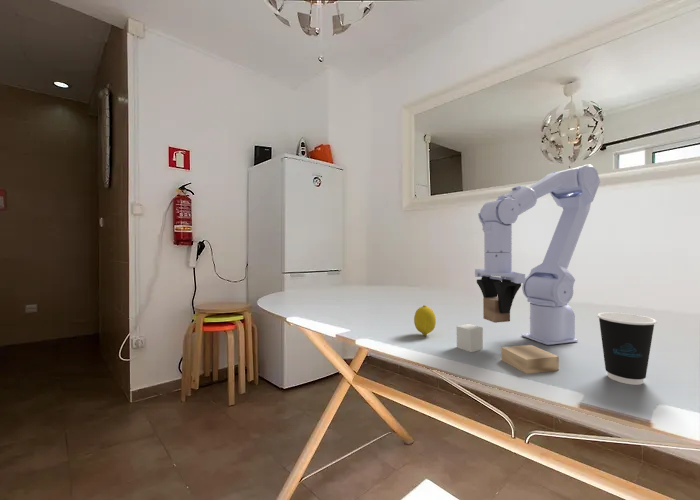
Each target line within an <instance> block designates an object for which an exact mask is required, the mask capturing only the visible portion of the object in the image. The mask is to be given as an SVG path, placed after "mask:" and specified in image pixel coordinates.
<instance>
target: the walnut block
mask: <svg viewBox="0 0 700 500" xmlns="http://www.w3.org/2000/svg"><path fill="white" fill-rule="evenodd" d="M482 301H483V303H482V304H483V310H482V311H483V313H482V315H483V319H484V320H487V321H489V322H492V323H506V322H508V323H509V322H511V312H510V313H500V311H499V302H498V296H497V297H483V300H482Z"/></svg>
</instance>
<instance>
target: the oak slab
mask: <svg viewBox="0 0 700 500" xmlns="http://www.w3.org/2000/svg"><path fill="white" fill-rule="evenodd" d="M559 357H560V356H559V355H556V354H554V353H551V352H549V351H546V350H544V349H542V348H540V347H538V346H535V345H532V344H524V345H515V346H514V345H513V346H502V347H501V361H502V362H504V363H506V364H508V365H509V366H511V367H514V368H515V369H517V370H519V371H521V372H522V373H524V374H537V373H546V372H555V371H556V372H557V371H559V366H560V365H559V361H560V358H559Z"/></svg>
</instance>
